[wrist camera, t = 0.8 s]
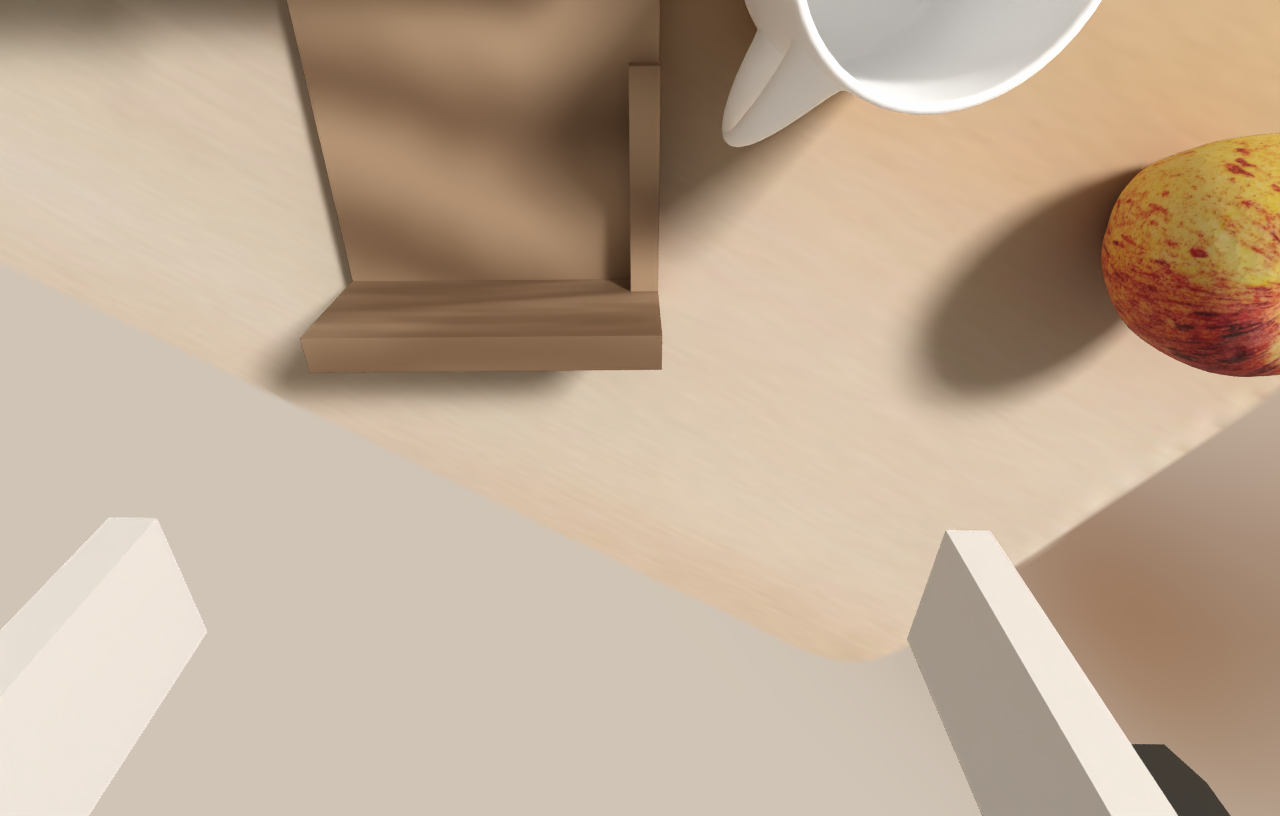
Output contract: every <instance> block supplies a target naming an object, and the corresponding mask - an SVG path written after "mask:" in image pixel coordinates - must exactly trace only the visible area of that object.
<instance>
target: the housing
mask: <svg viewBox="0 0 1280 816" xmlns="http://www.w3.org/2000/svg"><path fill="white" fill-rule="evenodd" d="M287 3H288V7H289V12H290V16H291V20H292V25H293V29H294V33H295V37H296V42H297V46H298V50H299V54H300V59H301V63H302V67H303V71H304V76H305V80H306V84H307V88H308V93H309V97H310V101H311V105H312V110H313V114H314V118H315V122H316V127H317V131H318V135H319V139H320V144H321V148H322V152H323V157H324V161H325V165H326V169H327V174H328V178H329V182H330V186H331V191H332V195H333V199H334V203H335V208H336V212H337V216H338V220H339V225H340V229H341V233H342V237H343V242H344V246H345V250H346V254H347V259H348V263H349V267H350V271H351V276H352V280H353V281H352V282H351V283H350V285H349V286H348V287H347V288H346V289H345V290H344V291H343V292H342V293H341V294H340V295H339V297H338V298H337V299H336V300H335V301H334V302H333V303H332V304H331V305H330V306H329V307H328V308H327V310H326V311H325V312H324V313H323V314H322V315H321V316H320V317H319V318H318V319H317V320H316V322H315V323H314V324H313V325H312V326H311V327H310V328H309V329H308V330H307V331H306V332H305V334H304V335H303V336H302V337H301V338H300V341H301V344H302V348H303V351H304V355H305V358H306V361H307V365H308V368H309V372H310V373H324V372H440V371H556V370H662V329H661V319H660V308H659V298H658V241H659V163H660V86H661V65H660V63H659V37H660V0H287Z"/></svg>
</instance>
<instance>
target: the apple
mask: <svg viewBox="0 0 1280 816" xmlns="http://www.w3.org/2000/svg"><path fill="white" fill-rule="evenodd" d="M1101 263H1102V270H1103V276H1104V280H1105V284H1106V288H1107V291H1108V294H1109V296H1110V299H1111V301H1112V303H1113V306H1114V308H1115V309H1116V311H1117V313H1118V315H1119V316H1120V317H1121V319H1122V320H1123V321H1124V322H1125V324H1126V325H1127V326H1128V328H1129V329H1131V330H1132V331H1133V332H1134V333H1135V334H1136V335H1137V336H1139V337H1140V338H1141V339H1142V340H1144V341H1145V342H1146V343H1148V344H1150V345H1151V346H1153V347H1154V348H1156V349H1157V350H1159V351H1161V352H1163V353H1164V354H1166V355H1168V356H1170V357H1172V358H1174V359H1176V360H1178V361H1180V362H1183V363H1185V364H1187V365H1190V366H1192V367H1195V368H1198V369H1201V370H1204V371H1207V372H1211V373H1216V374H1222V375H1228V376H1238V377H1254V376H1271V375H1280V133H1275V134H1261V135H1253V136H1246V137H1239V138H1233V139H1226V140H1221V141H1216V142H1212V143H1209V144H1206V145H1203V146H1199V147H1196V148H1193V149H1190V150H1187V151H1184V152H1181V153H1178V154H1175V155H1173V156H1170V157H1167V158H1165V159H1162V160H1159V161H1157V162H1155V163H1153V164H1151V165H1150V166H1148V167H1146V168H1145V169H1143V170H1142V171H1140V172H1139V173H1138V174H1137V175H1136V176H1135V177H1134V178H1133V179H1132V180H1131V181H1130V182H1129V184H1128V185H1127V186H1126V187H1125V188H1124V190H1123V191H1122V192H1121V194H1120V195H1119V197H1118V199H1117V201H1116V203H1115V205H1114V207H1113V210H1112V212H1111V215H1110V219H1109V223H1108V227H1107V230H1106V233H1105V236H1104V239H1103V244H1102V252H1101Z"/></svg>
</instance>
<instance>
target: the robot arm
mask: <svg viewBox="0 0 1280 816" xmlns="http://www.w3.org/2000/svg"><path fill="white" fill-rule="evenodd" d="M206 633H207V630H206V628H205V626H204V623H203V621H202V619H201V617H200V614H199V612H198V610H197V608H196V605H195V603H194V601H193V598H192V596H191V594H190V592H189V590H188V587H187V585H186V583H185V580H184V578H183V576H182V574H181V571H180V569H179V567H178V565H177V562H176V560H175V558H174V556H173V553H172V551H171V549H170V547H169V544H168V542H167V540H166V538H165V536H164V533H163V531H162V529H161V526H160V524H159V522H158V520H157V518H115V517H110V518H108V519H107V520H106V521H105V522H104V523H103V524H102V525H101V526H100V527H99V529H97V531H96V532H95V533H94V534H93V535H92V536H91V537H90V538H89V539H88V540H87V541H86V542H85V543H84V544H83V545H82V546H81V547H80V548H79V549H78V550H77V551H76V552H75V553H74V554H73V555H72V556H71V557H70V558H69V560H68V561H67V562H66V563H65V564H64V565H63V566H62V567H61V568H60V569H59V570H58V571H57V572H56V573H55V574H54V575H53V576H52V577H51V578H50V579H49V580H48V582H46V583H45V584H44V585H43V587H41V589H40V590H39V591H38V592H37V593H36V594H35V595H34V596H33V597H32V598H31V599H30V600H29V601H28V602H27V603H26V604H25V605H24V606H23V607H22V608H21V609H20V610H19V611H18V612H17V614H16V615H14V616H13V618H12V619H11V620H10V621H9V622H8V623H7V624H6V625H5V626H4V627H3V628H2V629H1V630H0V816H89V814H90V813H91V811H92V810H93V808H94V807H95V805H96V804H97V802H98V800H99V799H100V797H101V796H102V794H103V793H104V791H105V790H106V788H107V786H108V785H109V783H110V782H111V780H112V779H113V777H114V776H115V774H116V773H117V771H118V769H119V768H120V766H121V765H122V763H123V762H124V760H125V759H126V757H127V755H128V754H129V752H130V751H131V749H132V748H133V746H134V745H135V743H136V742H137V740H138V738H139V737H140V735H141V734H142V732H143V731H144V729H145V728H146V726H147V725H148V723H149V721H150V720H151V718H152V717H153V715H154V714H155V712H156V710H157V709H158V707H159V706H160V704H161V703H162V701H163V700H164V698H165V697H166V695H167V694H168V692H169V690H170V689H171V687H172V686H173V684H174V683H175V681H176V679H177V678H178V676H179V675H180V673H181V672H182V670H183V669H184V667H185V666H186V664H187V662H188V661H189V659H190V658H191V656H192V655H193V653H194V652H195V650H196V649H197V647H198V645H199V644H200V642H201V641H202V639H203V638H204V636H205V635H206ZM907 640H908V642H909V645H910V647H911V649H912V651H913V654H914V656H915V659H916V661H917V663H918V666H919V668H920V670H921V673H922V675H923V677H924V680H925V682H926V685H927V687H928V689H929V692H930V694H931V696H932V699H933V701H934V703H935V706H936V708H937V711H938V713H939V715H940V717H941V720H942V722H943V725H944V727H945V729H946V732H947V734H948V736H949V739H950V741H951V743H952V746H953V748H954V750H955V753H956V755H957V757H958V760H959V762H960V765H961V767H962V769H963V772H964V774H965V776H966V779H967V781H968V783H969V786H970V788H971V791H972V793H973V795H974V798H975V800H976V802H977V805H978V807H979V809H980V812H981V814H982V816H1230V815H1229V813H1228V812H1227V810H1226V809H1225V808H1224V806H1223V805H1222V804H1221V802H1220V801H1219V800H1218V798H1217V797H1216V795H1215V794H1214V792H1213V791H1212V790H1211V788H1210V787H1209V785H1208V784H1207V783H1206V782H1205V781H1204V780H1203V779H1202V778H1201V777H1200V776H1198V775H1197V774H1196V773H1195V772H1194V771H1193V770H1192V769H1191V768H1190V767H1188V766H1187V765H1186V764H1185V763H1184V762H1183V761H1181V759H1180V758H1178V757H1177V756H1176V755H1175V754H1174V753H1173V752H1172V751H1171V750H1170V749H1168V748H1167V747H1166V746H1165V745H1157V744H1155V745H1154V744H1152V745H1151V744H1135V745H1134V744H1131V743H1130V742H1129V740H1128V739H1127V738H1126V736H1125V734H1124V733H1123V731H1122V730H1121V728H1120V727H1119V725H1118V724H1117V722H1116V721H1115V719H1114V718H1113V716H1112V715H1111V713H1110V712H1109V710H1108V709H1107V707H1106V706H1105V704H1104V703H1103V701H1102V700H1101V698H1100V696H1099V695H1098V693H1097V692H1096V690H1095V689H1094V687H1093V686H1092V684H1091V683H1090V681H1089V680H1088V678H1087V677H1086V675H1085V674H1084V672H1083V671H1082V669H1081V668H1080V666H1079V665H1078V663H1077V662H1076V660H1075V659H1074V657H1073V656H1072V654H1071V652H1070V651H1069V649H1068V648H1067V646H1066V645H1065V643H1064V642H1063V641H1062V639H1061V637H1060V636H1059V634H1058V633H1057V631H1056V630H1055V628H1054V627H1053V625H1052V624H1051V622H1050V621H1049V619H1048V618H1047V616H1046V615H1045V613H1044V611H1043V610H1042V609H1041V607H1040V605H1039V604H1038V603H1037V601H1036V599H1035V598H1034V596H1033V595H1032V593H1031V592H1030V590H1029V589H1028V587H1027V586H1026V584H1025V583H1024V581H1023V580H1022V578H1021V577H1020V575H1019V574H1018V572H1017V571H1016V569H1015V567H1014V566H1013V564H1012V563H1011V561H1010V560H1009V558H1008V557H1007V555H1006V554H1005V552H1004V551H1003V549H1002V548H1001V546H1000V545H999V543H998V542H997V540H996V539H995V537H994V536H993V534H992V533H991V531H979V530H946V531H945V534H944V537H943V540H942V542H941V545H940V548H939V551H938V554H937V556H936V559H935V562H934V565H933V568H932V570H931V573H930V576H929V579H928V582H927V584H926V587H925V590H924V593H923V596H922V598H921V601H920V604H919V607H918V610H917V612H916V615H915V618H914V621H913V624H912V627H911V629H910V632H909V635H908V638H907Z"/></svg>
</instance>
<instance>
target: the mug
mask: <svg viewBox="0 0 1280 816" xmlns="http://www.w3.org/2000/svg"><path fill="white" fill-rule="evenodd" d="M744 1H745V4H746V7H747V9H748V12H749V14H750V16H751V18H752V20H753V22H754V24H755V26H756V27H757V32H756V34H755V37H754V39H753V41H752V43H751V45H750V47H749V49H748V51H747V53H746V55H745V57H744V59H743V61H742V64H741V66H740V68H739V70H738V72H737V75H736V77H735V80H734V82H733V85H732V87H731V90H730V93H729V96H728V99H727V103H726V106H725V110H724V115H723V121H722V135H723V138H724V140H725V142H726V143H727V144H729V145H730V146H734V147H742V146H747V145H751V144H754V143H756V142H759V141H761V140H763V139H765V138H767V137H769V136H771V135H773V134H775V133H776V132H778V131H780V130H781V129H783V128H785V127H786V126H788V125H789V124H791V123H792V122H794V121H795V120H797V119H798V118H800V117H801V116H803V115H804V114H806V113H807V112H809V111H810V110H812V109H813V108H814V107H816V106H817V105H819V104H820V103H822V102H823V101H825V100H826V99H828V98H829V97H831V96H833V95H834V94H836V93H838V92H839V91H846V92H849V93H851V94H853V95H856V96H857V97H859V98H861V99H863V100H865V101H867V102H869V103H871V104H874V105H876V106H878V107H880V108H884V109H888V110H891V111H895V112H899V113H907V114H916V115H928V114H942V113H949V112H955V111H960V110H963V109H967V108H970V107H973V106H977V105H980V104H982V103H984V102H987V101H989V100H991V99H994V98H996V97H998V96H1000V95H1002V94H1004V93H1006V92H1007V91H1009V90H1011V89H1012V88H1014V87H1016V86H1018V85H1019V84H1021V83H1022V82H1024V81H1025V80H1027V79H1028V78H1029V77H1031V76H1032V75H1033V74H1035V73H1036V72H1038V71H1039V70H1040V69H1042V68H1043V67H1044V66H1045V65H1046V64H1047V63H1048V62H1050V61H1051V60H1052V59H1053V58H1054V57H1055V56H1056V55H1057V54H1059V53H1060V52H1061V51H1062V50H1063V48H1064V47H1065V46H1066V45H1067V44H1068V43H1069V42H1070V41H1071V40H1072V39H1073V38H1074V37H1075V36H1076V35H1077V33H1078V32H1079V31H1080V30H1081V28H1082V27H1083V26H1084V24H1085V23H1086V22H1087V21H1088V19H1089V18H1090V17H1091V15H1092V14H1093V13H1094V11H1095V10H1096V8H1097V7H1098V5H1099V3H1100V2H1101V0H744ZM749 108H750V109H749ZM748 109H749V110H748ZM746 112H747V113H746ZM745 113H746V114H745ZM744 114H745V115H744ZM743 115H744V116H743ZM742 117H743V118H742ZM741 118H742V119H741ZM740 119H741V120H740Z"/></svg>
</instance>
